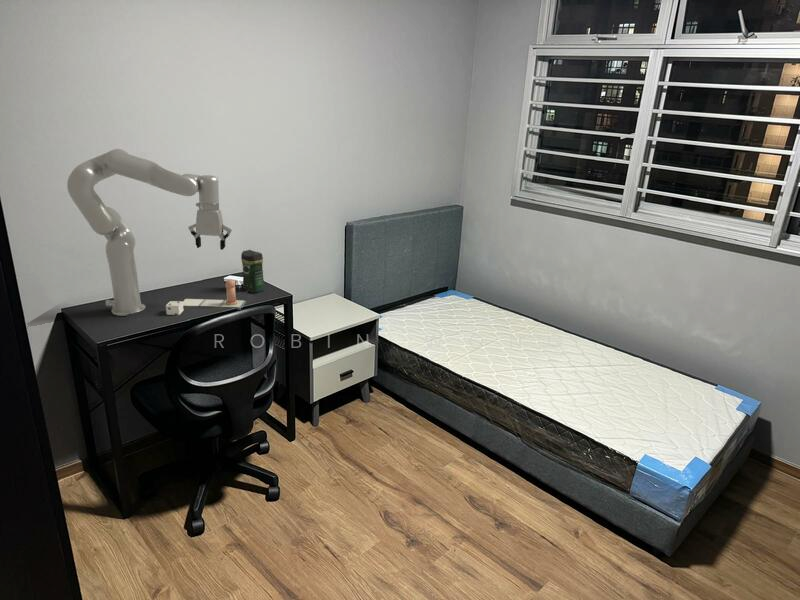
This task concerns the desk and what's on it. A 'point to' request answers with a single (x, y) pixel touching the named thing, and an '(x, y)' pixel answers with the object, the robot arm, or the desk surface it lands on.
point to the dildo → (230, 293)
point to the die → (174, 308)
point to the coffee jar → (252, 271)
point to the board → (212, 303)
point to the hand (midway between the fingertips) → (210, 248)
